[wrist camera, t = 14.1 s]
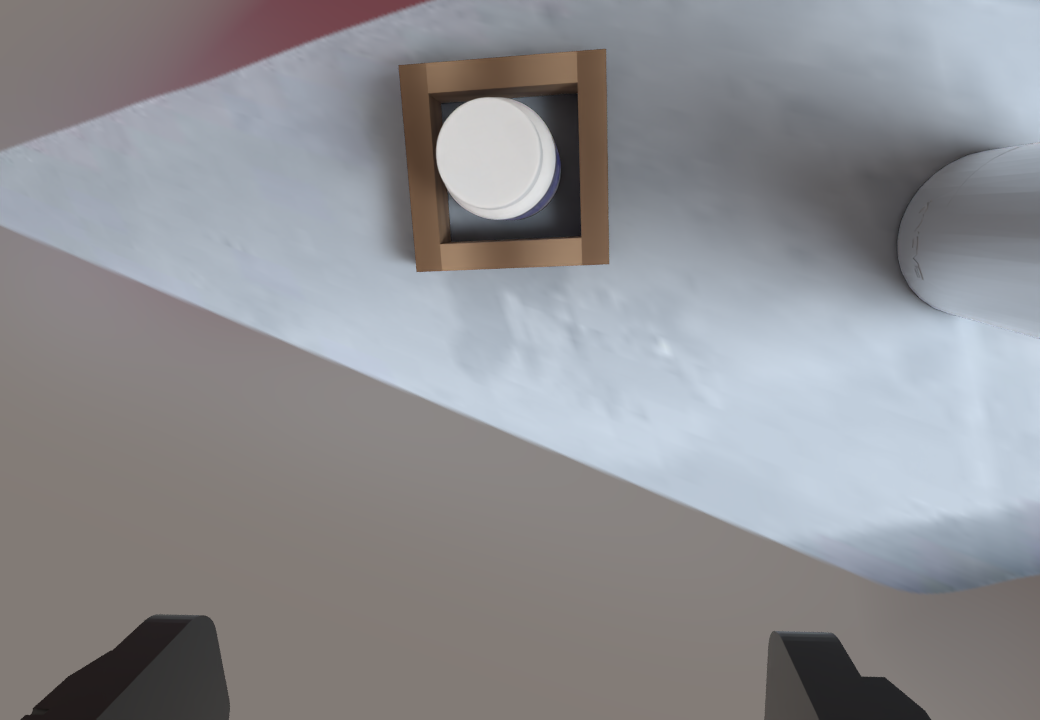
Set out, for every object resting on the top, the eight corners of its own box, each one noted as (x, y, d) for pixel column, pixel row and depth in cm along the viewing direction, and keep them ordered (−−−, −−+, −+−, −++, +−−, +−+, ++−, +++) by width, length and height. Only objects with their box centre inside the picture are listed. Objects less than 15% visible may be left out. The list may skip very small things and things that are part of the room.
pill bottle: (577, 143, 35) (575, 116, 26) (538, 235, 37) (522, 242, 27) (487, 102, 35) (450, 61, 26) (451, 196, 37) (404, 190, 27)
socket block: (604, 62, 34) (605, 48, 31) (607, 260, 37) (609, 264, 34) (413, 77, 35) (398, 65, 32) (429, 267, 38) (416, 271, 35)
